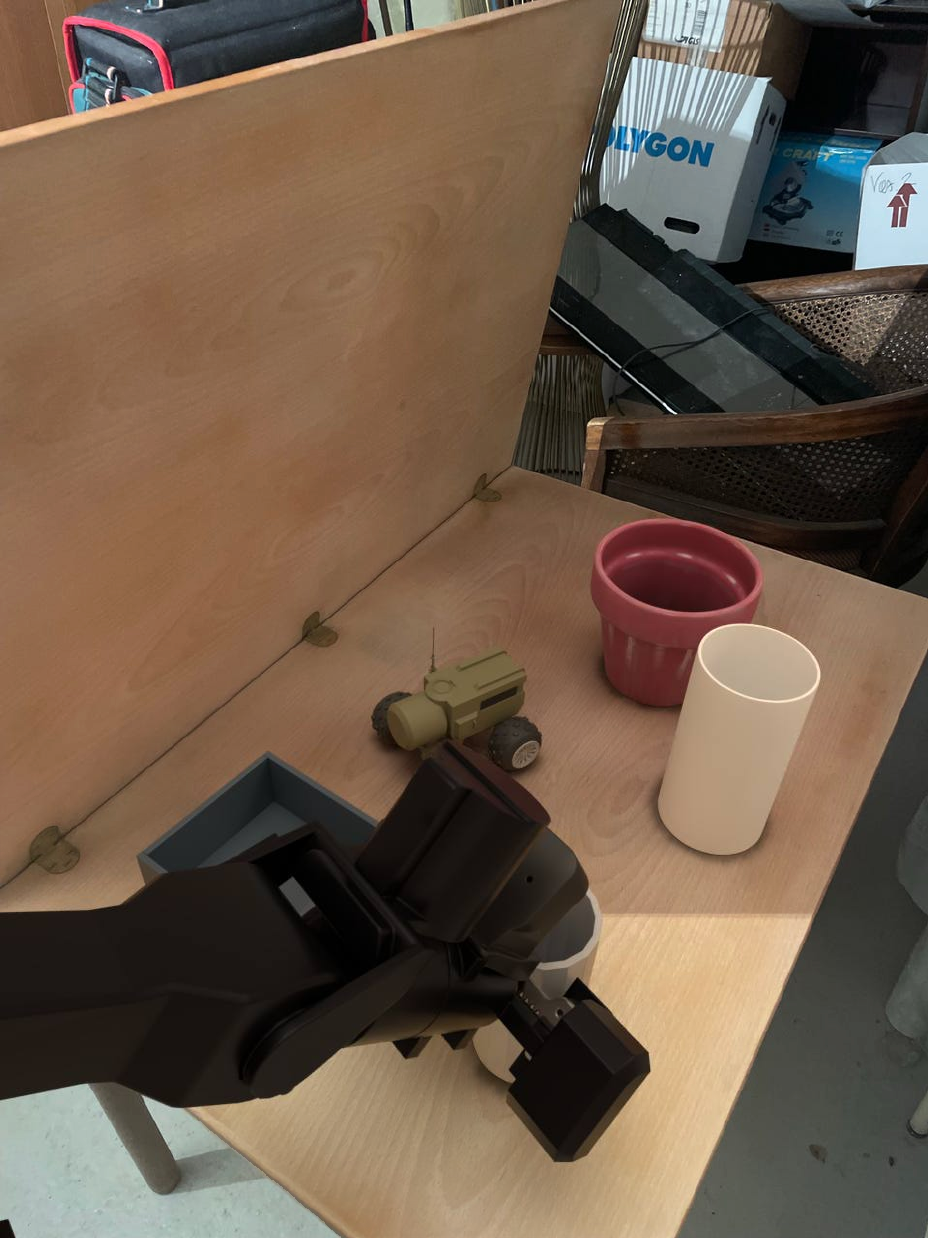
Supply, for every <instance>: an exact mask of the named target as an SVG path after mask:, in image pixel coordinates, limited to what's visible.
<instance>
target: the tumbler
mask: <svg viewBox="0 0 928 1238" xmlns="http://www.w3.org/2000/svg"><path fill="white" fill-rule="evenodd" d="M603 920H604V919H603V914H602V910H601V907H600V905H599V902H598V898H597V896H596V895H595V893H593V891H592V890H591V889H590V888H589V887H588V891H587V893H586V895H585V896H584V898H583V899H582V900H581V901H580V902H579V903H578V904H576V905H574V906H573V907H572V908H571V909H570V910H569V911H568V913H567V914H566V915H565V916H564V917H563V918H562V919H561V920H560V921H559V922H558V923H557V924H556V925H555V926H554V927H553V928H552V929H551V930H550V932H549V933H548V934H547V935H546V936H545V937H544V938H543V939H542V940H541V941H540V942H539V944H538V945H537V946H536V948H535V949H534V950H533V951H534V952H535V953H536V954H537V955H538V956H539V957H540V958H541V960H542V961H541V962H540V963H539V965H538V966H537V967H536V969H535V970H534V971H533V973H532V974H531V975H530V977H531V978H532V980H533V981H534V982H535V983H536V984H537V985H538V986H539V987H540V988H541V989H542V990H543V992H544V993H545V994H546V995H547V996H548V997H549V998H550V999H554V998H557V997H563V995H564V994H565V993H566V991H567V990H568V989H569V987H570V986H571V984H572V983H573V982H574V980H575V979H576V978H577V977H578V978H579V979H580V980H581V981H582V982H583V983H584V984H585V985H586V986H587V987H588V988H589V986H590V983H591V982H590V981H591V978H592V973H593V969H594V966H595V961H596V957H597V953H598V948H599V944H600V940H601V935H602V926H603ZM516 991H517V990H516ZM522 994H523V993H522ZM522 994H520V996H521V997H522ZM525 1001H526V1002H528V999H527V1000H525ZM533 1006H534V1005H532V1006H530V1007H531V1008H532V1009H533ZM536 1014H537V1015H538V1014H539V1011H538V1012H536ZM472 1043H473V1047H474V1050H475V1052H476V1054H477V1056H478V1058H479V1060H480V1061H481V1063H482V1064H483V1065H484V1067H486V1069H487V1070H488V1071H489V1072H491V1073H492V1074H493V1075H495V1077H497V1078H499V1079H501V1080H503V1081H505V1082H506V1083H510V1084H512V1083H513V1082H514V1081H515V1078H514V1076H513V1075H512V1074H511V1073H510V1071H509V1068H510V1066H511V1065H512V1064H513V1062H514V1061H515V1060H516V1058H517V1057H518V1056H519V1054H520V1053H521V1052H522V1050H523V1049H524V1048H523V1047H522V1046H521V1045H520V1043H519V1042H518V1041H517V1040H516V1039H515V1038H514V1036H513V1035H512V1034H511V1033H510V1032H509V1031H508V1029H507V1028H506V1027H505V1026H504V1025H503V1024H502V1022H501V1021H500V1020H499V1019H498V1020H496V1021H495V1022H493V1023H492V1024H490V1025H488V1026H485V1027H481V1028H479V1029H478V1031H477V1032H476V1034H475V1035H474V1036H473V1038H472Z"/></svg>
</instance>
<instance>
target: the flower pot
mask: <svg viewBox="0 0 928 1238" xmlns="http://www.w3.org/2000/svg"><path fill="white" fill-rule="evenodd" d="M763 586H764V573H763V569H762V567H761V563H760V562H759V560H758V559H757V557H756V556H755V555H754V553H753V552H752V551H751V550H750V549H749V548H748V547H747V546H746V545H744V544H743V543H742V542H740V541H739V540H737V539H736V538H735V537H733V536H732V535H729V534H728V533H725V532H723V531H721V530H719V529H716V528H715V527H713V526H710V525H707V524H703V523H700V522H695V521H691V520H685V519H678V518H649V519H642V520H637V521H632V522H629V523H625V524H623V525H621V526H618V527H616V528H615V529H613V530H612V531H610V532H609V533H607V534H606V535H605V536H604V537H603V538H602V539H601V540H600V541H599V543H598V545H597V546H596V549H595V553H594V559H593V564H592V571H591V577H590V597H591V599H592V602H593V605H594V606H595V608H596V609H597V611H598V612H599V619H600V621H599V622H600V631H601V642H602V651H603V659H604V669H605V673H606V676H607V679H608V680H609V682H610V683H611V685H612V686H613V687H614V688H615V689H616V690H617V691H618V692H619V693H620V694H622V695H623V696H625V697H626V698H628V699H631V700H632V701H634V702H637V703H640V704H643V705H648V706H652V707H673V706H679V705H681V704H682V705H683V702H684V698H685V695H686V691H687V687H688V683H689V679H690V675H691V672H692V668H693V664H694V660H695V657H696V653H697V649H698V646H699V644H700V642H701V640H702V639H703V637H704V636H705V635H706V634H707V633H709V632H710V631H712V630H714V629H716V628H718V627H721V626H725V625H730V624H752V622H753V619H754V617H755V614H756V611H757V607H758V605H759V601H760V598H761V594H762V591H763Z"/></svg>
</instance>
